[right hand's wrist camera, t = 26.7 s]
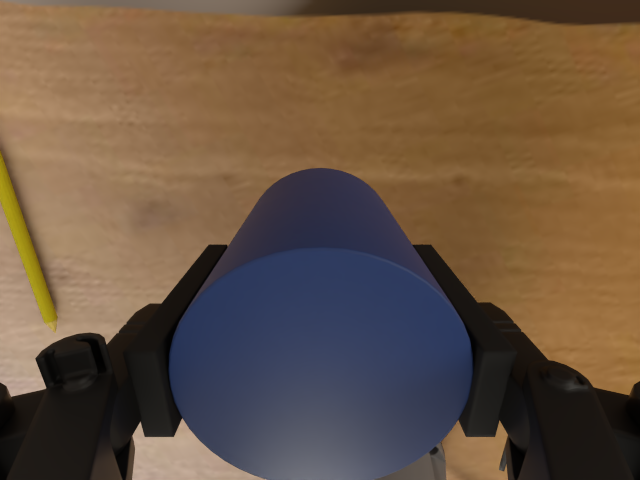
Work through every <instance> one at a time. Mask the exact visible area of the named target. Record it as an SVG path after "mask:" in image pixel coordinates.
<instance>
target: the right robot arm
mask: <svg viewBox="0 0 640 480" xmlns="http://www.w3.org/2000/svg"><path fill="white" fill-rule="evenodd" d="M413 247H414V248H415V250H416V251H417V253H418V254H419V256H420V257H421V259H422V260H423V262H424V263H425V265H426V266H427V268H428V269H429V271H430V272H431V274H432V275H433V277H434V278H435V280H436V281H437V283H438V284H439V286H440V287H441V289H442V290H443V292H444V293H445V295H446V296H447V298H448V299H449V301H450V302H451V304H452V305H453V307H454V308H455V310H456V312H457V313H458V315H459V317H460V318H461V320H462V322H463V323H464V326H465V329H466V331H467V334H468V336H469V339H470V343H471V348H472V353H473V379H472V384H471V389H470V393H469V397H468V400H467V403H466V405H465V408H464V410H463V412H462V414H461V416H460V418H459V419H458V420H459V422H460V424H461V427H462V429H463V431H464V433H465V436H466V437H495V435H496V431H497V427H498V424H499V420H500V421H501V423H502V425H503V427H504V428H505V430H506V432H507V434H508V437H507V441H506V444H505V448H504V451H503V455H502V458H501V462H500V467H499V470H501V471H504V470H505V466H506V463H507V472H508V480H640V381H639V382H638V383H636V384H634V386H633V388H632V391H631V393H630V395H625V394H620V393H616V392H611V391H607V390H602V389H598V388H594V387H593V386H592V385H591V383H590V382H589V380H588V379H587V378H586V377H584V376H583V375H582V374H581V373H579V372H578V371H576V370H574V369H572V368H571V367H569V366H567V365H564V364H561V363H558V362H555V361H550V360H548V359H547V358H546V357H545V356H544V355H543V354H542V353H541V351H540V350H539V349H538V348H537V347H536V346H535V345H534V344H533V343H532V341H531V340H530V339H529V338H528V337H527V336H526V335H525V334H524V333H523V332H521V329H520V328H519V327H518V326H517V325H516V324H515V323H513V320H512V319H511V318H510V317H509V316H508V315H507V314H506V313H505V312H504V311H503V310H501V309H500V308H498V307H497V306H495V305H493V304H492V303H477V301H476V300H475V299H474V298H473V296H472V295H471V294H470V293H469V292H468V290H467V289H466V288H465V287H464V285H463V284H462V283H461V282H460V280H459V279H458V278H457V277H456V275H455V274H454V273H453V272H452V270H451V269H450V268H449V267H448V265H447V264H446V263H445V262H444V260H443V259H442V258H441V257H440V255H439V254H438V253H437V252H436V250H435V249H434V248H433V247H432V245H413ZM227 248H228V247H227V245H208V246H207V248H206V249H205V250H204V251H203V253H202V254H201V255H200V256H199V258H198V259H197V260H196V261H195V263H194V264H193V265H192V266H191V268H190V269H189V270H188V271H187V273H186V274H185V275H184V276H183V278H182V279H181V280H180V281H179V283H178V284H177V285H176V286H175V287H174V289H173V290H172V291H171V292H170V294H169V295H168V296H167V297H166V299H165V300H164V301H163V302H162V304H148V305H147V306H145V307H144V308H142V309H140V310H139V311H137V312H136V313H135V314H134V315H133V316H132V317H131V318H130V319H129V320H128V322H127V324H126V325H124V326H123V327H122V328H121V329H120V331H119V333H117V334H116V335H115V336H114V337H113V338H112V339H111V341H110V342H109V343H108V344H107V345H106V342H105V338H104V337H103V336H101V335H100V334H96V333H82V334H76V335H73V336H69V337H66V338H63V339H61V340H59V341H57V342H55V343H53V344H51V345H50V346H48V347H47V348H45V349H44V350H42V351H41V353H40V354H39V355H38V356H37V357H36V358H35V359H36V362H37V364H38V367H39V370H40V372H41V375H42V377H43V380H44V383H45V385H46V389H44V390H40V391H36V392H31V393H27V394H22V395H18V396H13V397H11V396H10V394H9V391H8V389H7V387H6V386H5V385H3V384H2V383H0V480H132V474H133V464H134V454H135V446H134V441H133V437H132V435H133V433H134V432H135V430H136V428H137V426H138V424H139V423H140V421H141V424H142V428H143V432H144V436H145V437H174V435H175V433H176V431H177V428H178V426H179V424H180V422H181V419H182V416H181V415H180V412H179V410H178V408H177V406H176V404H175V402H174V398H173V395H172V391H171V388H170V380H169V372H168V368H169V352H170V348H171V343H172V339H173V336H174V333H175V331H176V329H177V326H178V324H179V321H180V320H181V318H182V317H183V315H184V313H185V312H186V310H187V309H188V307H189V305H190V304H191V302H192V301H193V299H194V298H195V296H196V295H197V293H198V292H199V290H200V289H201V287H202V286H203V284H204V283H205V281H206V280H207V278H208V277H209V275H210V273H211V272H212V270H213V269H214V267H215V266H216V264H217V263H218V261H219V260H220V258H221V257H222V255H223V254H224V252H225V251H226V249H227ZM374 480H446V462H445V454H444V450H443V447H442V444H441V442H440V443H439V444H438V445H436V446H435V447H434V448H433V449H432V450H431V451H430V452H428V453H427V454H425V455H424V456H423V457H421V458H420V459H418V460H417V461H415V462H414V463H412V464H410V465H408V466H406V467H404V468H403V469H401V470H398V471H396V472H394V473H391V474H389V475H387V476H384V477H381V478H377V479H374Z"/></svg>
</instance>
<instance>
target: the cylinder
mask: <svg viewBox="0 0 640 480" xmlns="http://www.w3.org/2000/svg"><path fill="white" fill-rule="evenodd" d="M168 372H169V380H170V388H171V391H172V395H173V398H174V402H175V404H176V406H177V408H178V410H179V412H180V415H181V416H182V418H183V419H184V421H185V423H186V424H187V426H188V427H189V429H190V430H191V431H192V432H193V433H194V434H195V436H196V437H197V438H198V439H199V440H200V441H201V442H202V443H203V444H204V445H205V446H206V447H207V448H209V449H210V450H211V451H212V452H213V453H215V454H216V455H218V456H219V457H220V458H222V459H223V460H225V461H226V462H228V463H230V464H232V465H233V466H235V467H237V468H239V469H241V470H243V471H246V472H248V473H250V474H252V475H255V476H258V477H261V478H264V479H267V480H374V479H377V478H381V477H384V476H387V475H389V474H391V473H394V472H396V471H398V470H401V469H403V468H404V467H406V466H408V465H410V464H412V463H414V462H415V461H417V460H418V459H420V458H421V457H423V456H424V455H425V454H427V453H428V452H430V451H431V450H432V449H433V448H434V447H435V446H436V445H438V444H439V443H440V442H441V441H442V440H443V439H444V437H445V436H446V435H447V434H448V433H449V432H450V431H451V429H452V428H453V427H454V425H455V424H456V422H457V421H458V419H459V418H460V416H461V414H462V412H463V410H464V408H465V405H466V403H467V400H468V397H469V393H470V389H471V384H472V379H473V353H472V348H471V343H470V339H469V336H468V334H467V331H466V329H465V326H464V323H463V322H462V320H461V318H460V317H459V315H458V313H457V312H456V310H455V308H454V307H453V305H452V304H451V302H450V301H449V299H448V298H447V296H446V295H445V293H444V292H443V290H442V289H441V287H440V286H439V284H438V283H437V281H436V280H435V278H434V277H433V275H432V274H431V272H430V271H429V269H428V268H427V266H426V265H425V263H424V262H423V260H422V259H421V257H420V256H419V254H418V253H417V251H416V250H415V248H414V247H413V245H412V244H411V242H410V241H409V239H408V238H407V236H406V235H405V233H404V232H403V231H402V229H401V228H400V226H399V225H398V223H397V222H396V220H395V219H394V217H393V216H392V214H391V213H390V211H389V210H388V208H387V207H386V205H385V204H384V202H383V201H382V199H381V198H380V197H379V195H378V194H377V193H376V192H375V191H374V190H373V189H372V188H371V187H370V186H369V185H368V184H366V183H365V182H364V181H362V180H361V179H359V178H357V177H355V176H353V175H351V174H348V173H346V172H343V171H339V170H334V169H326V168H315V169H307V170H302V171H298V172H295V173H292V174H290V175H288V176H286V177H284V178H282V179H280V180H279V181H277V182H276V183H274V184H273V185H272V186H271V187H270V188H269V189H267V190H266V192H265V193H264V194H263V195H262V196H261V197H260V199H259V200H258V202H257V203H256V205H255V206H254V208H253V210H252V211H251V213H250V214H249V216H248V217H247V219H246V220H245V222H244V223H243V225H242V226H241V228H240V229H239V231H238V232H237V234H236V235H235V237H234V238H233V240H232V242H231V243H230V245H229V246H228V248H227V249H226V251H225V252H224V254H223V255H222V257H221V258H220V260H219V261H218V263H217V264H216V266H215V267H214V269H213V270H212V272H211V273H210V275H209V277H208V278H207V280H206V281H205V283H204V284H203V286H202V287H201V289H200V290H199V292H198V293H197V295H196V296H195V298H194V299H193V301H192V302H191V304H190V305H189V307H188V309H187V310H186V312H185V313H184V315H183V317H182V318H181V320H180V321H179V324H178V326H177V329H176V331H175V333H174V336H173V339H172V343H171V348H170V352H169V368H168Z"/></svg>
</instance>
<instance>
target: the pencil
mask: <svg viewBox="0 0 640 480" xmlns="http://www.w3.org/2000/svg"><path fill="white" fill-rule="evenodd" d="M0 201H1V204H2V207H3V210H4V212H5V215H6V218H7V221H8V224H9V226H10V229H11V232H12V235H13V237H14V240H15V243H16V246H17V248H18V251H19V254H20V257H21V259H22V262H23V265H24V268H25V270H26V273H27V276H28V279H29V281H30V284H31V287H32V290H33V292H34V295H35V298H36V301H37V303H38V306H39V309H40V312H41V314H42V317H43V320H44V323H45V324H46V325H48V326H49V327H50V328H51V329H52V330H53V331H54V332H55V333H56V325H57V318H58V317H57V314H56V311H55V308H54V305H53V302H52V300H51V297H50V294H49V291H48V288H47V285H46V282H45V279H44V276H43V273H42V270H41V267H40V265H39V262H38V259H37V256H36V253H35V250H34V247H33V244H32V241H31V238H30V235H29V232H28V230H27V227H26V224H25V221H24V218H23V215H22V212H21V209H20V206H19V203H18V200H17V197H16V195H15V192H14V189H13V186H12V183H11V180H10V177H9V174H8V171H7V168H6V165H5V162H4V160H3V157H2V154H1V151H0Z"/></svg>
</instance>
